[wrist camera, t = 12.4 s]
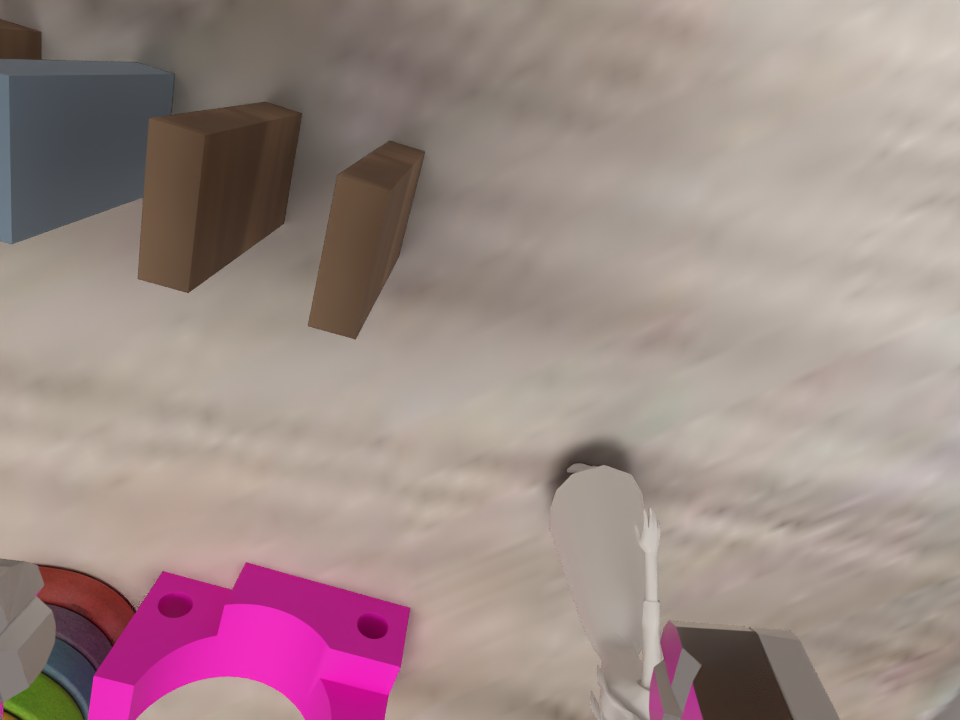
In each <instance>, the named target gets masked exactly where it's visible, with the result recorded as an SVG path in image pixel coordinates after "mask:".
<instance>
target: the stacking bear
mask: <svg viewBox="0 0 960 720" xmlns="http://www.w3.org/2000/svg"><path fill="white" fill-rule="evenodd" d="M38 568H39V571H40V573H41V576H42V579H43V582H44V584H45V585H44V586H43V588H42V589H41V591H40V592H39V594H38V595H37V597H38V598H39V599H40V600H41V601H42V602H43V603H44V604H46V605H47V606H48V607H49V608H50V609H51V610H52V612H53V616H54V619H55V623H56V632H55V643H54V646H53V648H52V651H51V653H50V656H49V658H48V660H47V663H46V665H45V667H44V668H43V670H42V671H41V672H40V674H39V675H38V676H37V677H36V679H35V680H34V681H33V683H32V684H31V685H30V687H29V688H27V689H25V690H24V691H22V692H20V693H19V694H17V695H15V696H14V697H12V698H10V699H9V700H7V701H5V702H4V706H3V720H88V715H89V707H90V700H91V692H92V685H93V677H94V675H95V673H96V672H97V670H98V669H99V667H100V666H101V664H102V663H103V661H104V660H105V658H106V657H107V655H108V653H109V652H110V650H111V649H112V647H113V646H114V644H115V643H116V641H117V640H118V638H119V637H120V635H121V634H122V632H123V631H124V629H125V628H126V626H127V625H128V623H129V622H130V620H131V619H132V617H133V616H134V614H135V613H134V611H133V610H132V609H131V607H130V606H129V605H128V603H127V602H126V601H125V600H124V599H123V598H122V597H121V596H120V595H118V594H117V593H116V592H115V591H113V590H112V589H111V588H109V587H108V586H106V585H104V584H103V583H101V582H99V581H97V580H95V579H93V578H90V577H88V576H85V575H82V574H79V573H75V572H71V571H66V570H62V569H56V568H48V567H38Z"/></svg>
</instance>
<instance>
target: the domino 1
mask: <svg viewBox="0 0 960 720" xmlns="http://www.w3.org/2000/svg"><path fill="white" fill-rule="evenodd" d="M174 75H175V74H173V73H169V72H166V71H163V70H160V69H157V68H153V67H150V66H147V65H144V64H141V63H137V62H108V61H65V60H23V59H0V241H2V242H6V243H9V244H14V243H16V242H19V241H22V240H25V239H28V238H30V237H33V236H36V235H39V234H42V233H44V232H47V231H50V230H53V229H56V228H58V227H61V226H64V225H67V224H70V223H72V222H75V221H78V220H81V219H83V218H86V217H89V216H92V215H95V214H97V213H100V212H103V211H106V210H109V209H111V208H114V207H117V206H120V205H123V204H125V203H128V202H131V201H134V200H137V199H139V198H142V197H143V196H144V182H145V168H146V153H147V139H148V125H149V118H153V117H160V116H167V115H171V110H172V99H173V87H174Z"/></svg>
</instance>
